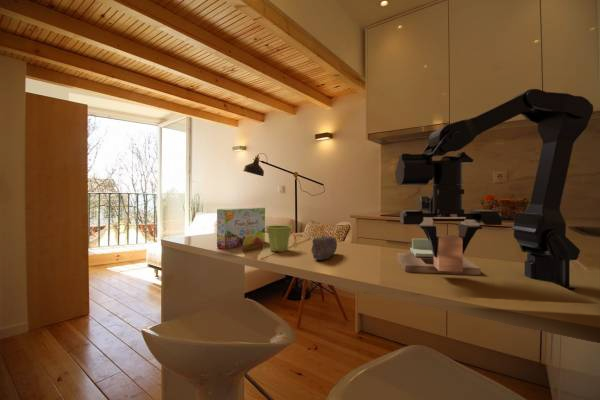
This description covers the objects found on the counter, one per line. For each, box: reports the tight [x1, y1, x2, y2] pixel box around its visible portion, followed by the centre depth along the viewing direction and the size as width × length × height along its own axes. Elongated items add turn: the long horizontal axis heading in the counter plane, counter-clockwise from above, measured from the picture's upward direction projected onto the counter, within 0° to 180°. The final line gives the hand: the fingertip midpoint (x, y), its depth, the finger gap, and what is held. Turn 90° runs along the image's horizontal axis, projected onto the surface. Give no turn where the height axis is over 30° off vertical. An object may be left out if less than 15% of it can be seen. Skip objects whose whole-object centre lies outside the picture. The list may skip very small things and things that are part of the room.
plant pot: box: [265, 224, 293, 252], centre depth 102 cm, size 9×9×9 cm
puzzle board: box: [396, 252, 481, 276], centre depth 72 cm, size 16×14×3 cm
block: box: [434, 234, 464, 272], centre depth 61 cm, size 4×4×7 cm
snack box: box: [216, 206, 266, 250], centre depth 115 cm, size 21×6×15 cm, turn 143°
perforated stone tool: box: [310, 235, 338, 261], centre depth 90 cm, size 15×5×7 cm, turn 149°
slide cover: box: [409, 238, 434, 257], centre depth 78 cm, size 8×8×4 cm
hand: (447, 257), depth 61 cm, fingers closed on block, 4 cm apart
